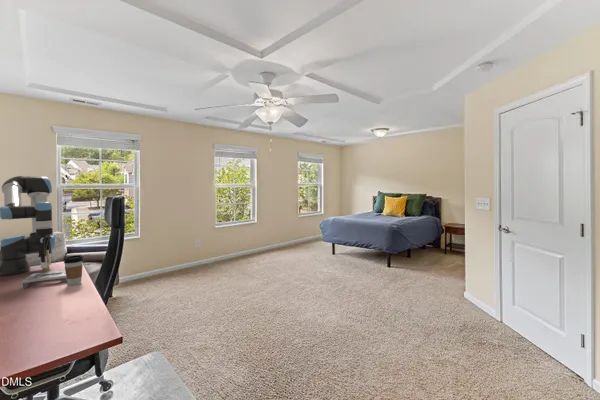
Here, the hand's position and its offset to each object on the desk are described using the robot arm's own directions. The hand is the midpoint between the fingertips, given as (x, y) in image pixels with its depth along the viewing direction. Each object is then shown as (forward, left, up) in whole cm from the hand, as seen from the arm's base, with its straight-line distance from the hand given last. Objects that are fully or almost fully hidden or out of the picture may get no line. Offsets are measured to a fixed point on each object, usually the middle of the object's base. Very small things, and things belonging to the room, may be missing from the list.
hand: (45, 266), depth 175 cm
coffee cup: (+27, +18, -7) cm, 33 cm away
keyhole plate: (+13, +5, -7) cm, 15 cm away
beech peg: (0, 0, -7) cm, 7 cm away
